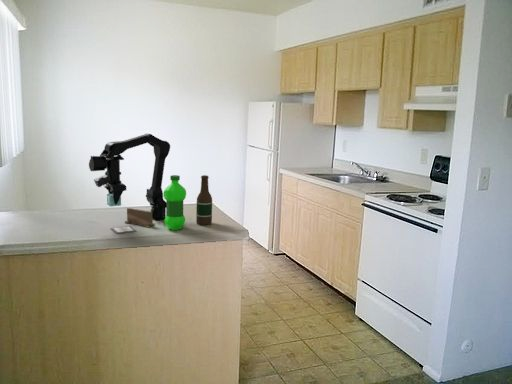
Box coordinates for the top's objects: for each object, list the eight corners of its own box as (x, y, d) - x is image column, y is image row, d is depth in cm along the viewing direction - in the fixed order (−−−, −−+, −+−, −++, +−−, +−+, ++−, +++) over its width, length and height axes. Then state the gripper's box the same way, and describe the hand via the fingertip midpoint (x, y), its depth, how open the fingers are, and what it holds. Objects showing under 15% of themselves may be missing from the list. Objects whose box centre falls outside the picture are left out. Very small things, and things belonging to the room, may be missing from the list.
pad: (129, 226, 209) (129, 225, 209) (136, 231, 202) (136, 230, 202) (110, 229, 204) (110, 228, 204) (116, 234, 197) (116, 233, 197)
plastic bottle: (161, 226, 212) (161, 174, 207) (183, 224, 216) (183, 173, 211) (166, 232, 203) (165, 178, 198) (188, 230, 207) (189, 177, 202)
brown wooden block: (131, 220, 219) (131, 207, 218) (154, 225, 213) (154, 211, 212) (124, 223, 215) (124, 209, 213) (147, 227, 209) (147, 213, 207)
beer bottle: (214, 223, 221) (215, 175, 216) (206, 226, 214) (207, 177, 209) (201, 220, 224) (202, 173, 219) (193, 224, 217) (193, 175, 213)
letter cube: (117, 203, 212) (117, 192, 211) (121, 205, 208) (120, 194, 207) (106, 204, 209) (106, 193, 208) (110, 206, 205) (109, 195, 204)
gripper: (90, 167, 208) (91, 200, 211) (101, 173, 193) (102, 208, 196) (113, 166, 215) (114, 198, 218) (126, 172, 199) (127, 206, 203)
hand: (114, 202), depth 208 cm, fingers closed on letter cube, 5 cm apart
